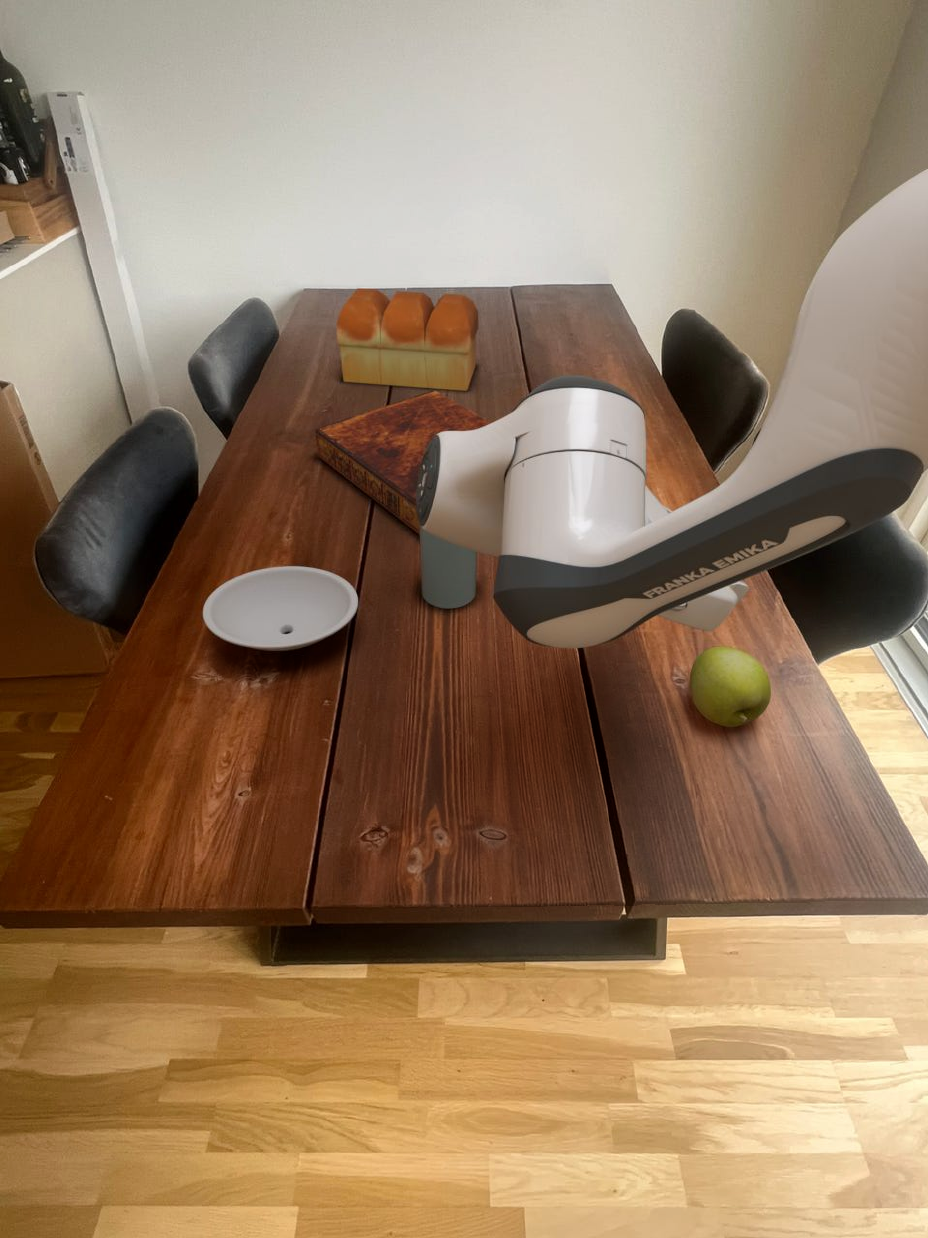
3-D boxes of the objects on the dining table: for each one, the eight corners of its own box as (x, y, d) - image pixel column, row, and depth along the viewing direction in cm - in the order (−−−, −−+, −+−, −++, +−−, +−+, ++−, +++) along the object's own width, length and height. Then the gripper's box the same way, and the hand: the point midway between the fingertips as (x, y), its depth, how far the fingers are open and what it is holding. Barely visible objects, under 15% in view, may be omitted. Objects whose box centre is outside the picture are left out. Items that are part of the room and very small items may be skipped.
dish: (198, 679, 82) (187, 647, 79) (227, 597, 93) (218, 566, 89) (355, 678, 82) (351, 646, 79) (366, 596, 93) (363, 565, 90)
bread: (477, 365, 148) (479, 288, 138) (468, 391, 139) (470, 311, 129) (357, 356, 151) (350, 281, 141) (340, 382, 141) (332, 302, 131)
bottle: (484, 601, 93) (488, 484, 81) (432, 614, 91) (429, 496, 79) (464, 569, 98) (465, 455, 86) (414, 581, 96) (409, 465, 84)
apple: (707, 753, 75) (726, 700, 70) (668, 689, 82) (683, 637, 76) (775, 739, 76) (799, 687, 71) (732, 678, 83) (751, 625, 78)
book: (317, 457, 119) (313, 429, 116) (435, 416, 131) (434, 389, 127) (425, 541, 102) (425, 511, 99) (550, 485, 114) (553, 457, 110)
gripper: (667, 568, 53) (800, 602, 59) (571, 439, 68) (684, 476, 74) (623, 633, 56) (753, 659, 62) (540, 496, 71) (651, 528, 77)
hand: (715, 559), depth 68 cm, fingers open, 8 cm apart
